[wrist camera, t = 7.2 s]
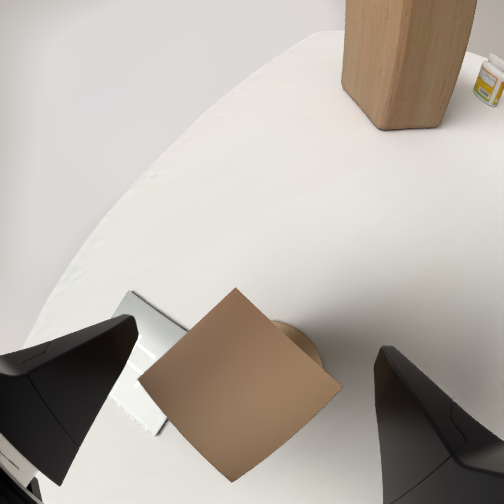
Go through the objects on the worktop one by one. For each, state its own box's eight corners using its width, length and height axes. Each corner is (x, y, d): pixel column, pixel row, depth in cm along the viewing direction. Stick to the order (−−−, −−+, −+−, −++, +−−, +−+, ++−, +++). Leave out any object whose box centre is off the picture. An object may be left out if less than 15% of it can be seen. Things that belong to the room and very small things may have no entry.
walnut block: (309, 378, 15) (342, 386, 6) (261, 423, 14) (231, 482, 5) (262, 334, 17) (235, 287, 8) (216, 377, 16) (137, 378, 7)
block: (337, 87, 28) (340, -54, 10) (398, 85, 28) (416, -35, 10) (377, 134, 24) (405, -46, 6) (440, 130, 24) (482, -10, 6)
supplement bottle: (489, 96, 28) (504, 59, 19) (499, 111, 26) (516, 72, 17) (469, 86, 29) (482, 46, 20) (477, 100, 27) (493, 58, 18)
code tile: (211, 347, 17) (210, 347, 17) (156, 435, 15) (154, 436, 14) (130, 291, 20) (128, 289, 19) (84, 370, 17) (82, 369, 17)
